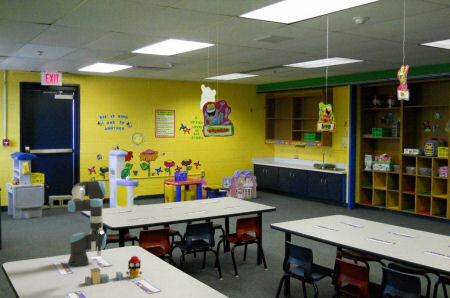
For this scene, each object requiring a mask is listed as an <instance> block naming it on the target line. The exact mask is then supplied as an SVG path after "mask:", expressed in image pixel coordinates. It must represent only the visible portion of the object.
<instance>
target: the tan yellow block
mask: <svg viewBox="0 0 450 298" xmlns="http://www.w3.org/2000/svg"><path fill="white" fill-rule="evenodd" d="M100 275H101V269H100V268H99V267H95V268H94V267H93V268H90V278H91V283H92V284H94V285H98V283H100ZM100 284H101V283H100Z"/></svg>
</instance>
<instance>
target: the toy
mask: <svg viewBox="0 0 450 298" xmlns="http://www.w3.org/2000/svg"><path fill="white" fill-rule="evenodd" d="M127 261H128V262H127V264H128V265H127V267H128V270H129V271H125V274H126V276H129V278H131V279H133V278H139V275H142V274H143V270H141V271H140V269H141V259H139V257H138V256H136V255H133V256H131V258H130V259H129V260H127Z"/></svg>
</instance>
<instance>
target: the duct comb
mask: <svg viewBox="0 0 450 298" xmlns="http://www.w3.org/2000/svg"><path fill="white" fill-rule="evenodd" d="M115 274H116V275H115V277H112V278H110V276H109V275H108V274H107V273H102V274H101V273H100V283H98V284H99V285H100V284H104V283H105V284H106V283H111V282H117V281H123V280H124V274H123V272H122V271H116V272H115ZM84 284H85V285H86V286H92V285H95V284H92V283H91V276H85V277H84ZM98 284H97V285H98Z"/></svg>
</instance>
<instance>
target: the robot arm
mask: <svg viewBox="0 0 450 298" xmlns="http://www.w3.org/2000/svg"><path fill="white" fill-rule="evenodd" d="M71 194H72V197H71V200H68V202H67V210H68V212H73V213H75V212H76V213H77V212H90V213H89V215H90V217H89V221H90V223H89V228H90V231H89V232H88V234H87V233H86V232H78V233H74V234H72V235H71V236H70V241H69V242H70V255H69V258H68V262H67V264H68V265H67V266H69V267H83V266H86V265H88V264H89V262H90V261H89V257H88V254H87V251H89V250H90V251H91V252H96V257H100V256H102V250H104V249H105V248H106V242H107V233H105V230H104V229H103V200H104V199H105V197H107V190H106V183H105V181H103V180H88V181H87V180H84V181H81V182H78V183H76V184H75V185H74V186H73V187H72V190H71ZM84 197H88V200H87V199H84Z"/></svg>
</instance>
